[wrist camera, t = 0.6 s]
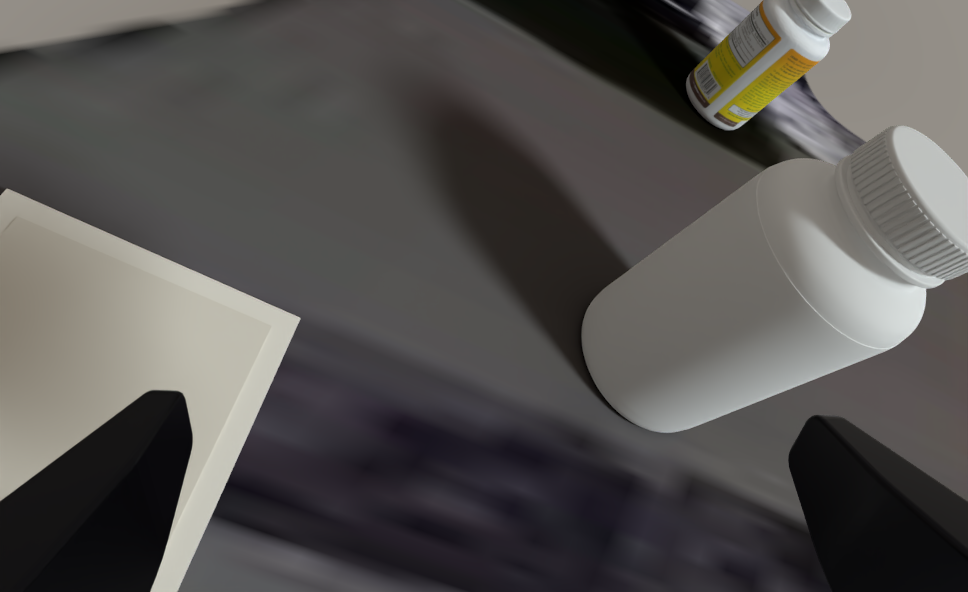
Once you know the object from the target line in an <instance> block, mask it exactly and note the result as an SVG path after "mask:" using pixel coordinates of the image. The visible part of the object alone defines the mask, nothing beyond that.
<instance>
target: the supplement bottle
mask: <svg viewBox="0 0 968 592" xmlns="http://www.w3.org/2000/svg"><path fill="white" fill-rule="evenodd" d="M850 19H851V12H850V9H849V7H848V5H847V3H846V2H845V0H763V1H762V2H761V3H760V4H759V5H758V6H757V7H756V8H755V9H754V10H753V11H752V12H751V13H750V14H749V15H748V16H747V17H746V18H745V19H744V20H743V21H742V22H741V23H740V24H739V25H738V26H737V27H736V28H735V29H734V30H733V31H732V32H731V33H730V34H729V35H728V36H727V37H726V38H725V39H724V40H723V41H722V42H721V43H720V44H719V45H718V46H717V47H716V48H715V49H714V50H713V51H712V52H711V53H710V54H709V55H708V56H707V57H706V58H705V59H704V60H703V61H702V62H701V63H700V64H699V65H697V66H696V67H695V68H694V69H693V70H692V72H691V73H690V74H689V76H688V77H687V81H686V90H687V94H688V97H689V99H690V101H691V103H692V104H693V106H694V107H695V109H696V110H697V111H698V112H699V113H700V114H701V116H702V117H703V118H705V119H706V120H707V121H708V122H710V123H711V124H713V125H714V126H716V127H718V128H720V129H724V130H734V129H737V128H739V127H740V126H742V125H743V124H744V123H745V122H747V121H748V120H749V119H750V118H751V117H753V116H754V115H755V114H756V113H757V112H759V111H760V110H761V109H762V108H764V107H765V106H766V105H767V104H768V103H770V102H771V101H772V100H773V99H774V98H776V97H777V96H778V95H779V94H781V93H782V92H783V91H784V90H785V89H787V88H788V87H789V86H790V85H792V84H793V83H794V82H795V81H796V80H798V79H799V78H800V77H801V76H802V75H804V74H805V73H806V72H807V71H809V70H810V69H811V68H812V67H813V66H814V65H816V64H817V63H818V62H819V61H820V60H822V59H823V58H824V57H825V56H826V55H827V53H828V51H829V48H830V42H829V37H831V36H832V35H833V34H834V33H836V32H838V30H839V29H840V28H841V27H842V26H843V25H844V24H846V23H847V22H848V21H849V20H850Z"/></svg>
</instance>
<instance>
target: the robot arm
mask: <svg viewBox="0 0 968 592" xmlns="http://www.w3.org/2000/svg"><path fill="white" fill-rule="evenodd" d="M192 445H193V433H192V428H191V423H190V418H189V413H188V408H187V403H186V399H185V396H184V395H183V393H181V392H180V391H173V390H150V391H148V392H146V393H144V394H143V395H141V396H140V397H139V398H137V399H136V400H135V401H133V402H132V403H131V404H129V405H128V406H127V407H125V408H124V409H123V410H121V411H120V412H119V413H117V414H116V415H115V416H113V417H112V418H111V419H109V420H108V421H107V422H105V423H104V424H103V425H101V426H100V427H99V428H97V429H96V430H95V431H93V432H92V433H90V434H89V435H88V436H86V437H85V438H84V439H82V440H81V441H80V442H78V443H77V444H76V445H74V446H73V447H72V448H70V449H69V450H68V451H66V452H65V453H64V454H62V455H61V456H60V457H58V458H57V459H56V460H54V461H53V462H52V463H50V464H49V465H48V466H46V467H45V468H44V469H42V470H41V471H40V472H38V473H37V474H36V475H34V476H33V477H32V478H30V479H29V480H28V481H26V482H25V483H24V484H22V485H21V486H20V487H18V488H17V489H16V490H14V491H13V492H12V493H10V494H9V495H8V496H6V497H5V498H4V499H2V500H1V501H0V592H150V591H151V589H152V586H153V584H154V581H155V579H156V576H157V573H158V570H159V568H160V565H161V562H162V559H163V556H164V553H165V549H166V546H167V542H168V539H169V535H170V531H171V527H172V524H173V520H174V516H175V512H176V508H177V505H178V501H179V497H180V493H181V489H182V485H183V482H184V478H185V474H186V470H187V466H188V463H189V459H190V455H191V451H192ZM788 461H789V468H790V472H791V475H792V478H793V481H794V484H795V487H796V491H797V494H798V497H799V500H800V503H801V506H802V509H803V513H804V516H805V519H806V522H807V525H808V528H809V532H810V535H811V538H812V541H813V544H814V547H815V550H816V553H817V556H818V559H819V562H820V564H821V567H822V569H823V572H824V574H825V577H826V579H827V581H828V584H829V586H830V588H831V591H832V592H968V501H966V500H965V499H963V498H962V497H960V496H959V495H957V494H956V493H954V492H953V491H951V490H950V489H948V488H947V487H945V486H944V485H942V484H941V483H939V482H938V481H936V480H935V479H934V478H932V477H931V476H929V475H928V474H926V473H925V472H923V471H922V470H920V469H919V468H917V467H916V466H914V465H913V464H911V463H910V462H908V461H907V460H905V459H904V458H902V457H901V456H899V455H898V454H896V453H895V452H893V451H892V450H891V449H889V448H888V447H886V446H885V445H883V444H882V443H880V442H879V441H877V440H876V439H874V438H873V437H871V436H870V435H868V434H867V433H865V432H864V431H862V430H861V429H859V428H858V427H856V426H855V425H853V424H852V423H850V422H849V421H848V420H846V419H844V418H843V417H840V416H835V415H814V416H812V417H810V418H809V419H808V420H807V421H806V423H805V425H804V427H803V428H802V430H801V432H800V434H799V435H798V437H797V439H796V441H795V443H794V444H793V446H792V448H791V450H790V453H789V460H788Z"/></svg>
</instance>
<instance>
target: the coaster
mask: <svg viewBox="0 0 968 592" xmlns="http://www.w3.org/2000/svg"><path fill="white" fill-rule="evenodd" d="M299 321H300V318H299V317H297V316H295V315H293V314H290V313H288V312H286V311H283V310H281V309H279V308H277V307H274V306H272V305H270V304H268V303H265V302H263V301H261V300H259V299H256V298H254V297H252V296H249V295H247V294H245V293H243V292H240V291H238V290H236V289H234V288H231V287H229V286H227V285H225V284H222V283H220V282H218V281H216V280H213V279H211V278H209V277H206V276H204V275H202V274H200V273H197V272H195V271H193V270H191V269H188V268H186V267H184V266H182V265H179V264H177V263H175V262H172V261H170V260H168V259H166V258H163V257H161V256H159V255H157V254H154V253H152V252H150V251H148V250H145V249H143V248H141V247H139V246H136V245H134V244H132V243H129V242H127V241H125V240H123V239H120V238H118V237H116V236H114V235H111V234H109V233H107V232H105V231H102V230H100V229H98V228H95V227H93V226H91V225H89V224H86V223H84V222H82V221H80V220H77V219H75V218H73V217H71V216H68V215H66V214H64V213H62V212H59V211H57V210H55V209H52V208H50V207H48V206H46V205H43V204H41V203H39V202H37V201H34V200H32V199H30V198H28V197H25V196H23V195H21V194H18V193H16V192H14V191H12V190H9V189H6V190H5V191H4V192H3V193H2V194H1V195H0V501H1V500H2V499H4V498H5V497H6V496H8V495H9V494H10V493H12V492H13V491H14V490H16V489H17V488H18V487H20V486H21V485H22V484H24V483H25V482H26V481H28V480H29V479H30V478H32V477H33V476H34V475H36V474H37V473H38V472H40V471H41V470H42V469H44V468H45V467H46V466H48V465H49V464H50V463H52V462H53V461H54V460H56V459H57V458H58V457H60V456H61V455H62V454H64V453H65V452H66V451H68V450H69V449H70V448H72V447H73V446H74V445H76V444H77V443H78V442H80V441H81V440H82V439H84V438H85V437H86V436H88V435H89V434H90V433H92V432H93V431H95V430H96V429H97V428H99V427H100V426H101V425H103V424H104V423H105V422H107V421H108V420H109V419H111V418H112V417H113V416H115V415H116V414H117V413H119V412H120V411H121V410H123V409H124V408H125V407H127V406H128V405H129V404H131V403H132V402H133V401H135V400H136V399H137V398H139V397H140V396H141V395H143V394H144V393H146V392H148V391H150V390H173V391H180V392H181V393H183V395H184V396H185V399H186V403H187V408H188V413H189V418H190V423H191V428H192V433H193V445H192V451H191V455H190V459H189V463H188V466H187V470H186V474H185V478H184V482H183V485H182V489H181V493H180V497H179V501H178V505H177V508H176V512H175V516H174V520H173V524H172V527H171V531H170V535H169V539H168V542H167V546H166V549H165V553H164V556H163V559H162V562H161V565H160V568H159V570H158V573H157V576H156V579H155V581H154V584H153V586H152V589H151V591H150V592H177V591H178V589H179V587H180V584H181V582H182V580H183V578H184V575H185V573H186V571H187V569H188V567H189V564H190V562H191V560H192V558H193V556H194V553H195V551H196V549H197V547H198V544H199V542H200V540H201V538H202V536H203V533H204V531H205V529H206V527H207V525H208V522H209V520H210V518H211V516H212V513H213V511H214V509H215V507H216V505H217V502H218V500H219V498H220V496H221V493H222V491H223V489H224V487H225V485H226V482H227V480H228V478H229V476H230V474H231V471H232V469H233V467H234V465H235V462H236V460H237V458H238V456H239V454H240V451H241V449H242V447H243V445H244V443H245V440H246V438H247V436H248V434H249V431H250V429H251V427H252V425H253V423H254V420H255V418H256V416H257V414H258V411H259V409H260V407H261V405H262V403H263V400H264V398H265V396H266V394H267V392H268V389H269V387H270V385H271V383H272V380H273V378H274V376H275V374H276V372H277V369H278V367H279V365H280V363H281V361H282V358H283V356H284V354H285V352H286V349H287V347H288V345H289V343H290V341H291V338H292V336H293V334H294V332H295V329H296V327H297V325H298V323H299Z"/></svg>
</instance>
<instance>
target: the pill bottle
mask: <svg viewBox="0 0 968 592" xmlns="http://www.w3.org/2000/svg"><path fill="white" fill-rule="evenodd" d="M966 272H968V177H967V176H966V175H965V174H964V172H963V171H962V170H961V169H960V168H959V167H958V165H957V164H956V163H955V162H954V161H953V160H952V159H951V158H950V157H949V156H948V155H947V154H946V153H945V152H944V151H943V150H942V149H941V148H940V147H939V146H938V145H937V144H935V143H934V142H933V141H931V140H930V139H929V138H928V137H926V136H925V135H923V134H922V133H920V132H918V131H917V130H915V129H912V128H910V127H907V126H901V125H899V126H892V127H889V128H888V129H886V130H884V131H883V132H881V133H880V134H878V135H877V136H875V137H874V138H872V139H871V140H869V141H868V142H866V143H865V144H864V145H862V146H861V147H859V148H858V149H856V150H855V151H854V152H853V154H852V155H849V156H846V157H845V158H843V159H842V160H840V161H839V162H838V164H837V166H835V165H833V164H830V163H827V162H824V161H820V160H816V159H808V158H799V159H792V160H788V161H784V162H781V163H779V164H776V165H773V166H771V167H769V168H767V169H766V170H764V171H763V172H761V173H760V174H758V175H757V176H755V177H754V178H753V179H751V180H750V181H749V182H747V183H746V184H745V185H743V186H742V187H741V188H739V189H738V190H736V191H735V192H734V193H732V194H731V195H730V196H728V197H727V198H726V199H724V200H723V201H722V202H720V203H719V204H718V205H716V206H715V207H713V208H712V209H711V210H709V211H708V212H707V213H705V214H704V215H703V216H701V217H700V218H699V219H697V220H696V221H695V222H693V223H692V224H691V225H689V226H688V227H686V228H685V229H684V230H682V231H681V232H680V233H678V234H677V235H676V236H674V237H673V238H672V239H670V240H669V241H668V242H666V243H665V244H663V245H662V246H661V247H659V248H658V249H657V250H655V251H654V252H653V253H651V254H650V255H649V256H647V257H646V258H645V259H643V260H642V261H641V262H639V263H638V264H636V265H635V266H634V267H632V268H631V269H630V270H628V271H627V272H626V273H624V274H623V275H622V276H620V277H619V278H618V279H616V280H615V281H614V282H612V283H611V284H609V285H608V286H607V287H605V288H604V289H603V290H602V291H601V292H600V293H599V294H598V295H597V296H596V297H595V298H594V299H593V301H592V302H591V303H590V305H589V307H588V309H587V311H586V313H585V316H584V319H583V324H582V333H581V339H582V349H583V354H584V358H585V361H586V364H587V367H588V370H589V372H590V375H591V377H592V379H593V381H594V382H595V384H596V386H597V388H598V389H599V391H600V392H601V394H602V395H603V396H604V398H605V399H606V400H607V401H608V402H609V404H610V405H611V406H612V407H613V408H614V409H615V410H616V411H617V412H618V413H620V414H621V415H622V416H623V417H625V418H626V419H627V420H629V421H630V422H632V423H634V424H636V425H638V426H640V427H642V428H645V429H647V430H651V431H655V432H662V433H670V432H677V431H682V430H686V429H690V428H692V427H695V426H698V425H700V424H703V423H705V422H708V421H710V420H713V419H715V418H718V417H720V416H723V415H725V414H728V413H730V412H733V411H735V410H738V409H740V408H743V407H746V406H748V405H751V404H753V403H756V402H758V401H761V400H763V399H766V398H768V397H771V396H773V395H776V394H778V393H781V392H783V391H786V390H788V389H791V388H794V387H796V386H799V385H801V384H804V383H806V382H809V381H811V380H814V379H816V378H819V377H821V376H824V375H826V374H829V373H831V372H834V371H837V370H839V369H842V368H844V367H847V366H849V365H852V364H854V363H857V362H859V361H862V360H864V359H867V358H869V357H872V356H874V355H877V354H879V353H882V352H884V351H886V350H889V349H891V348H893V347H895V346H897V345H898V344H899V343H900V342H901V341H903V340H904V339H905V338H907V337H908V336H909V335H910V334H911V333H912V332H913V331H914V330H915V328H916V327H917V325H918V324H919V322H920V320H921V318H922V315H923V312H924V308H925V302H926V288H934V287H936V286H938V285H940V284H942V283H943V282H944V281H945V280H948V279H949V280H950V279H953V278H955V277H958V276H960V275H962V274H964V273H966Z"/></svg>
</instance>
